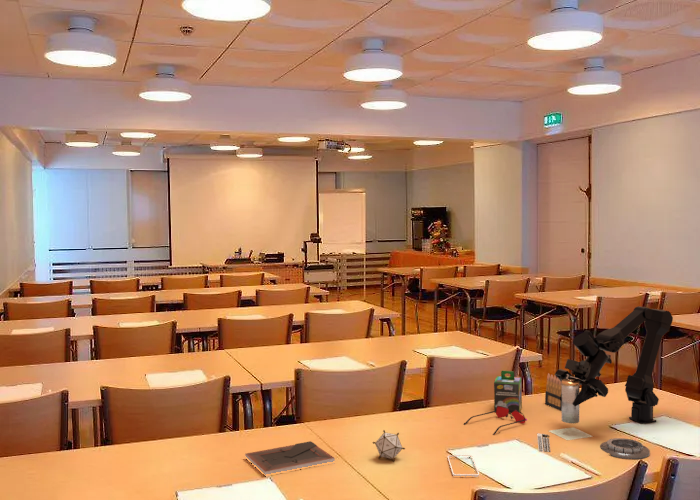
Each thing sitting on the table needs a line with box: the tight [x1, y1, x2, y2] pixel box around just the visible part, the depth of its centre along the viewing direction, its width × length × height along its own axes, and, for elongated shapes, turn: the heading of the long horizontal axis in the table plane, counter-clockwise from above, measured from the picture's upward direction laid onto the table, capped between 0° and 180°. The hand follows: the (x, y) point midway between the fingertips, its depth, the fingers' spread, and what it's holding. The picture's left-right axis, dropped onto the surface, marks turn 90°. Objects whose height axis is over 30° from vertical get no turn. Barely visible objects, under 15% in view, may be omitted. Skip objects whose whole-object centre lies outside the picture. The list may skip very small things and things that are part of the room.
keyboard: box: [536, 433, 551, 453], centre depth 216 cm, size 17×6×2 cm, turn 166°
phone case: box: [447, 454, 480, 477], centre depth 198 cm, size 7×1×15 cm
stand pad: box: [548, 427, 594, 441], centre depth 225 cm, size 10×10×1 cm
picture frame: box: [244, 440, 336, 475], centre depth 204 cm, size 16×2×22 cm
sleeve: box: [561, 379, 580, 424], centre depth 224 cm, size 6×6×13 cm
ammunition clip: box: [544, 372, 562, 412], centre depth 256 cm, size 11×2×12 cm, turn 21°
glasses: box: [463, 406, 528, 436], centre depth 236 cm, size 14×16×5 cm
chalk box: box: [493, 370, 523, 414], centre depth 253 cm, size 9×9×15 cm
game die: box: [372, 429, 406, 462], centre depth 205 cm, size 9×8×10 cm
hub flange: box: [599, 437, 651, 460], centre depth 210 cm, size 14×14×2 cm
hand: (567, 403), depth 223 cm, fingers closed on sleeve, 5 cm apart
